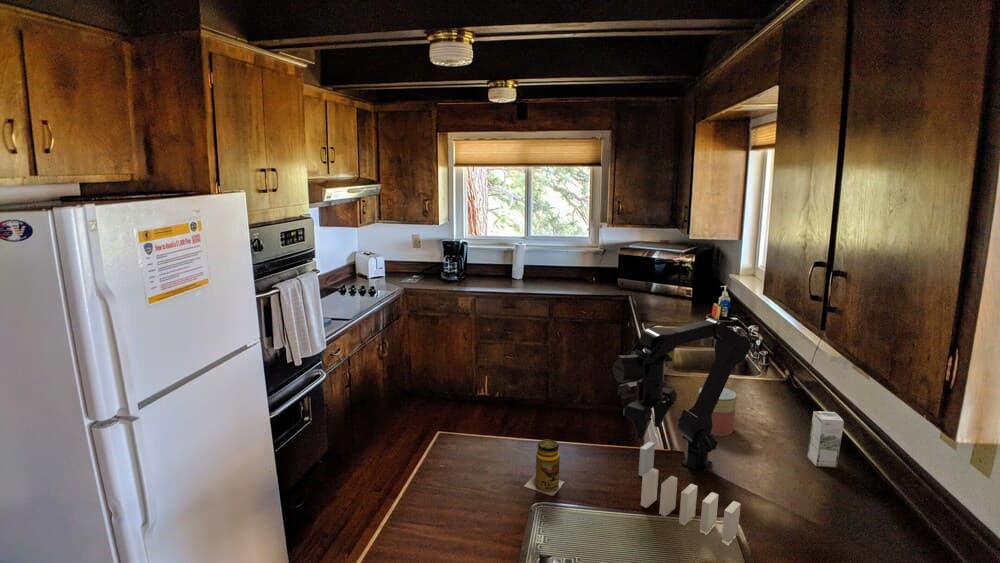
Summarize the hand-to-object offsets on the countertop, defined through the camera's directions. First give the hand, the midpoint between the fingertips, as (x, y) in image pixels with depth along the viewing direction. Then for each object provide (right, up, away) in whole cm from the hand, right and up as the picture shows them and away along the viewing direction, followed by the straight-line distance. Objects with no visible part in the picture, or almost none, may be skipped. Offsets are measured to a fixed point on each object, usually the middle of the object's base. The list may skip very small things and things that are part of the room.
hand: (649, 432), depth 149 cm
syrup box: (+51, -11, +9) cm, 53 cm away
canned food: (+29, -7, +30) cm, 42 cm away
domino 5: (+8, -16, -21) cm, 28 cm away
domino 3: (+1, -15, -14) cm, 21 cm away
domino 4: (+4, -16, -18) cm, 24 cm away
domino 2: (-3, -14, -11) cm, 18 cm away
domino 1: (0, -12, +3) cm, 12 cm away
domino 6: (+12, -17, -24) cm, 32 cm away
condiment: (-28, -13, -4) cm, 31 cm away
